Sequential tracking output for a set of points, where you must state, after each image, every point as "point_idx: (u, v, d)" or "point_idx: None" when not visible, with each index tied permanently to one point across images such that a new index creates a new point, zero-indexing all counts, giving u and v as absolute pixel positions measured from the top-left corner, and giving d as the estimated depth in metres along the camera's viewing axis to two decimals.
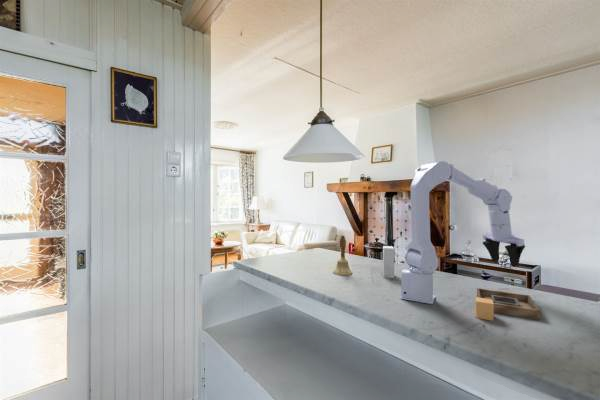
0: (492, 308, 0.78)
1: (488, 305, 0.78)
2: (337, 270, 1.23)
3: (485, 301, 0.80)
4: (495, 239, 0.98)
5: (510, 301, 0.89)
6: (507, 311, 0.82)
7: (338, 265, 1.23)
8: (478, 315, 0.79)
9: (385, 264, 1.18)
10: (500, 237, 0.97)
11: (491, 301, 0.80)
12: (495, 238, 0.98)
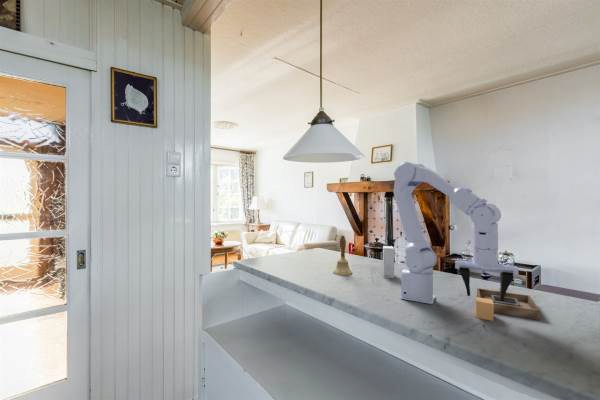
0: (492, 308, 0.78)
1: (488, 305, 0.78)
2: (337, 270, 1.23)
3: (485, 301, 0.80)
4: None
5: (510, 301, 0.89)
6: (507, 311, 0.82)
7: (338, 265, 1.23)
8: (478, 315, 0.79)
9: (385, 264, 1.18)
10: None
11: (491, 301, 0.80)
12: None
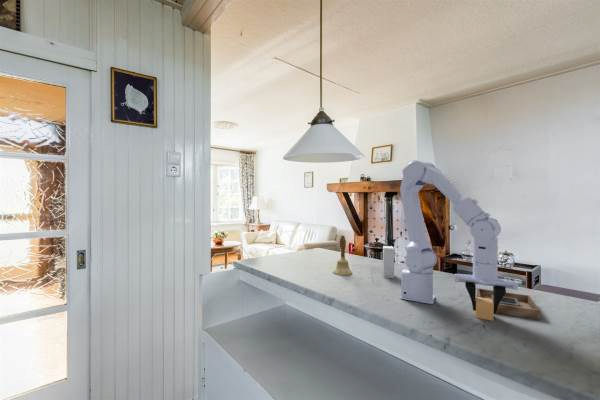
0: (492, 308, 0.78)
1: (488, 304, 0.78)
2: (337, 270, 1.23)
3: (485, 300, 0.80)
4: None
5: (510, 301, 0.89)
6: (507, 311, 0.82)
7: (338, 265, 1.23)
8: (478, 315, 0.79)
9: (385, 264, 1.18)
10: None
11: (491, 301, 0.80)
12: None
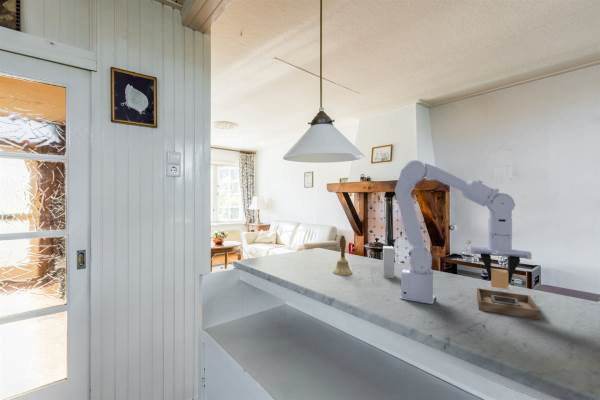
0: (507, 277, 0.82)
1: (503, 274, 0.83)
2: (337, 270, 1.23)
3: (500, 271, 0.84)
4: None
5: (510, 301, 0.89)
6: (507, 311, 0.82)
7: (338, 265, 1.23)
8: (493, 284, 0.84)
9: (385, 264, 1.18)
10: None
11: (506, 271, 0.84)
12: None
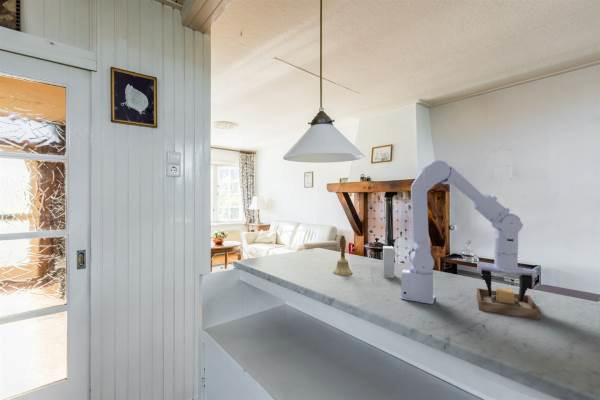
0: (513, 297, 0.85)
1: (509, 293, 0.85)
2: (337, 270, 1.23)
3: (506, 290, 0.87)
4: None
5: None
6: (507, 311, 0.82)
7: (338, 265, 1.23)
8: None
9: (385, 264, 1.18)
10: None
11: (511, 290, 0.87)
12: None
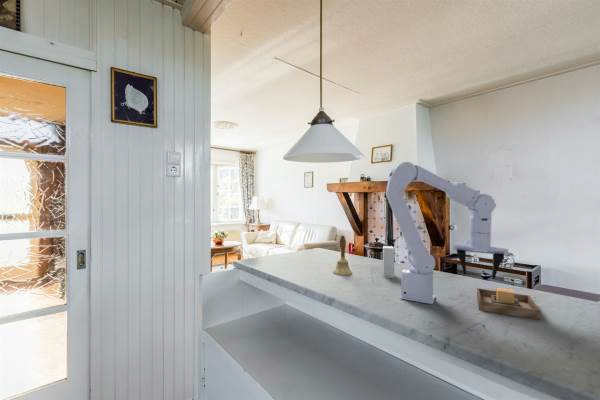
0: (513, 297, 0.85)
1: (509, 293, 0.85)
2: (337, 270, 1.23)
3: (506, 290, 0.87)
4: None
5: None
6: (507, 311, 0.82)
7: (338, 265, 1.23)
8: None
9: (385, 264, 1.18)
10: None
11: (511, 290, 0.87)
12: None
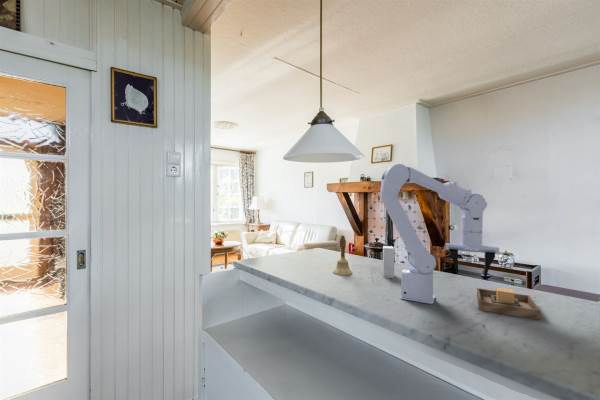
0: (513, 297, 0.85)
1: (509, 293, 0.85)
2: (337, 270, 1.23)
3: (506, 290, 0.87)
4: None
5: None
6: (507, 311, 0.82)
7: (338, 265, 1.23)
8: None
9: (385, 264, 1.18)
10: None
11: (511, 290, 0.87)
12: None
